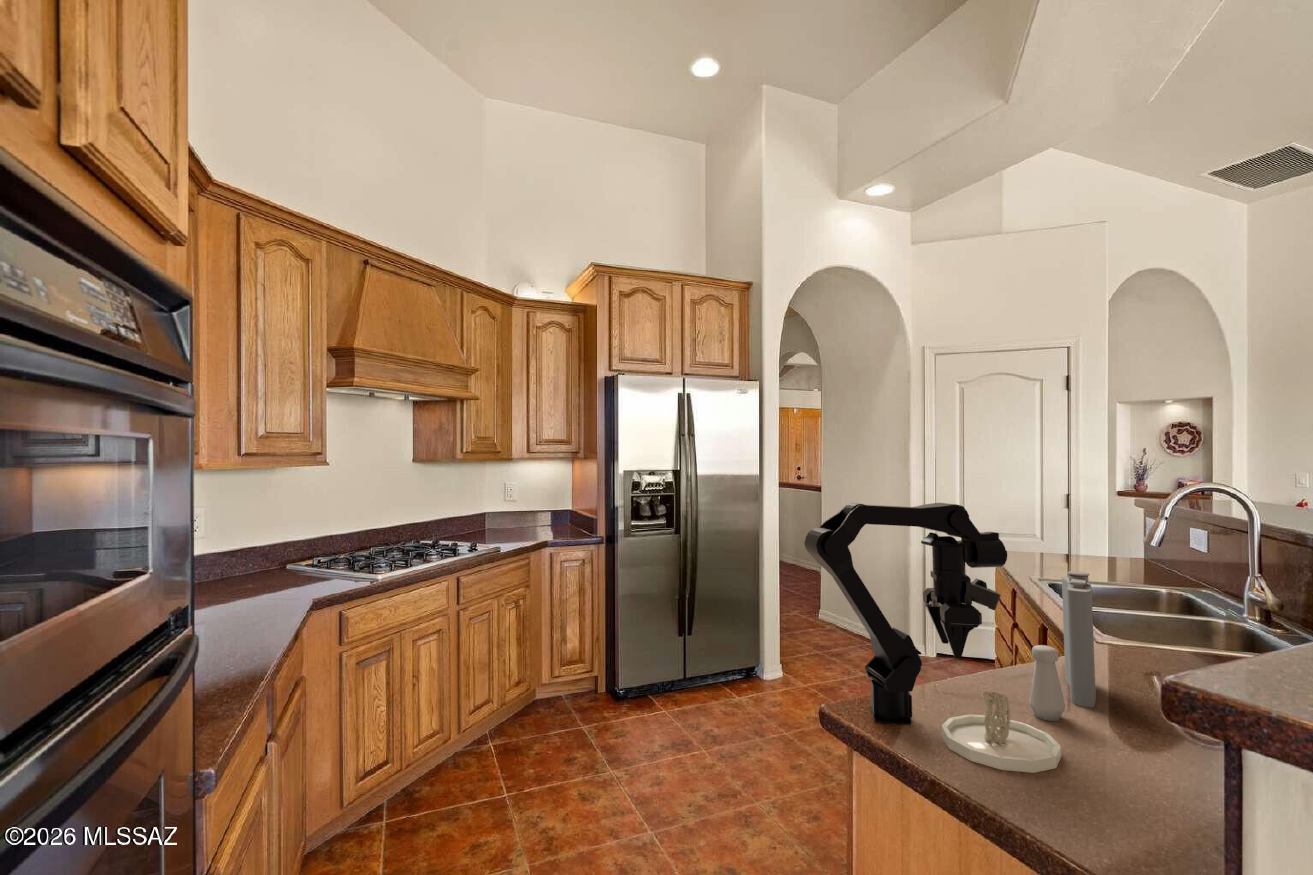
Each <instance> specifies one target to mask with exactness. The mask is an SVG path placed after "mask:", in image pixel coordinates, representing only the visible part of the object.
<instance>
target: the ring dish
mask: <svg viewBox="0 0 1313 875" xmlns="http://www.w3.org/2000/svg"><path fill="white" fill-rule="evenodd" d="M985 716H986V715H984V714H983V715H982V714H970V713H969V714H964V715H957V716H952V717H949V718H947V720H945V722H944V723H943V724H942V725H941V737H942V740H943V742H944V743H945V745H946V747H947V748H948V749H949V750H951V751H952V752H955V753H956V754H958V755H959V756H961V757H963V758H965V759H966V760H969V761H970V762H974V763H977V764H981V765H983V766H986V767H987V766H988V767H991V768H994V769H997V770H1000V771H1008V772H1011V771H1012V772H1020V773H1021V772H1022V773H1032V774H1035V773H1039V772H1040V773H1041V772H1044V771H1048V770H1053V769H1057V767H1058V765H1059V762H1060V761H1061V759H1062V746H1061V745H1060V743H1058V742H1057V741H1056V739H1055V738H1054V737H1052V736H1051V735H1050V733H1047V732H1046V731H1043V730H1040V729H1038V728H1036V727H1034V726H1032V725H1029V724H1027V723H1025V722H1020V721H1017V720H1014V719H1013V720H1012V719H1010V725H1009V735H1008V737H1007V739H1006V741H1007V743H1006V744H1001V743H998V742H996V743H994V742H991V741H986V740H985V739H984V735H985V733H986V729H985V724H984V722H985ZM992 717H993V715H992ZM996 718H997V716H995V719H996ZM995 719H994V721H995ZM1001 720H1002V718H1001ZM1002 722H1003V721H1002ZM1006 722H1007V718H1006ZM996 727H997V729H998V730H999V729H1000V725H997V724H996ZM989 728H991V720H990V724H989ZM994 730H995V729H994ZM995 732H996V731H995ZM996 733H997V732H996ZM999 736H1000V735H999ZM999 736H998V737H999Z"/></svg>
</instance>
